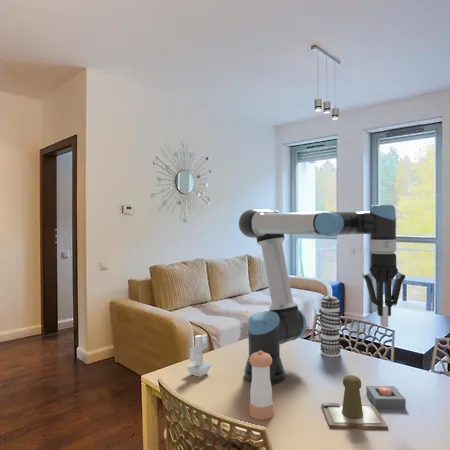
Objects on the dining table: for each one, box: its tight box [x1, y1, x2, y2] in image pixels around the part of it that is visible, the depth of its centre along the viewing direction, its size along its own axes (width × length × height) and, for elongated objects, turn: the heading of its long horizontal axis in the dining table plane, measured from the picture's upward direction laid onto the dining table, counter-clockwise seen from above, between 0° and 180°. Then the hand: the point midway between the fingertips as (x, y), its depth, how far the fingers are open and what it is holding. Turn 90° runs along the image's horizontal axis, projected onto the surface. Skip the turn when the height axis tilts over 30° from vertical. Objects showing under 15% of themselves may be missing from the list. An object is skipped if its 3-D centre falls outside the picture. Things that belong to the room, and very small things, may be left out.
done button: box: [379, 387, 392, 396], centre depth 117 cm, size 4×4×2 cm
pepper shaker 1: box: [248, 351, 274, 421], centre depth 111 cm, size 7×7×19 cm
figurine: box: [185, 333, 213, 378], centre depth 141 cm, size 7×9×15 cm
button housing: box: [365, 385, 407, 410], centre depth 117 cm, size 9×9×3 cm
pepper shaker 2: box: [342, 374, 363, 419], centre depth 108 cm, size 6×6×11 cm
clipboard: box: [320, 402, 389, 430], centre depth 108 cm, size 16×12×1 cm
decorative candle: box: [318, 295, 342, 358], centre depth 161 cm, size 9×9×25 cm
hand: (384, 325), depth 117 cm, fingers closed
